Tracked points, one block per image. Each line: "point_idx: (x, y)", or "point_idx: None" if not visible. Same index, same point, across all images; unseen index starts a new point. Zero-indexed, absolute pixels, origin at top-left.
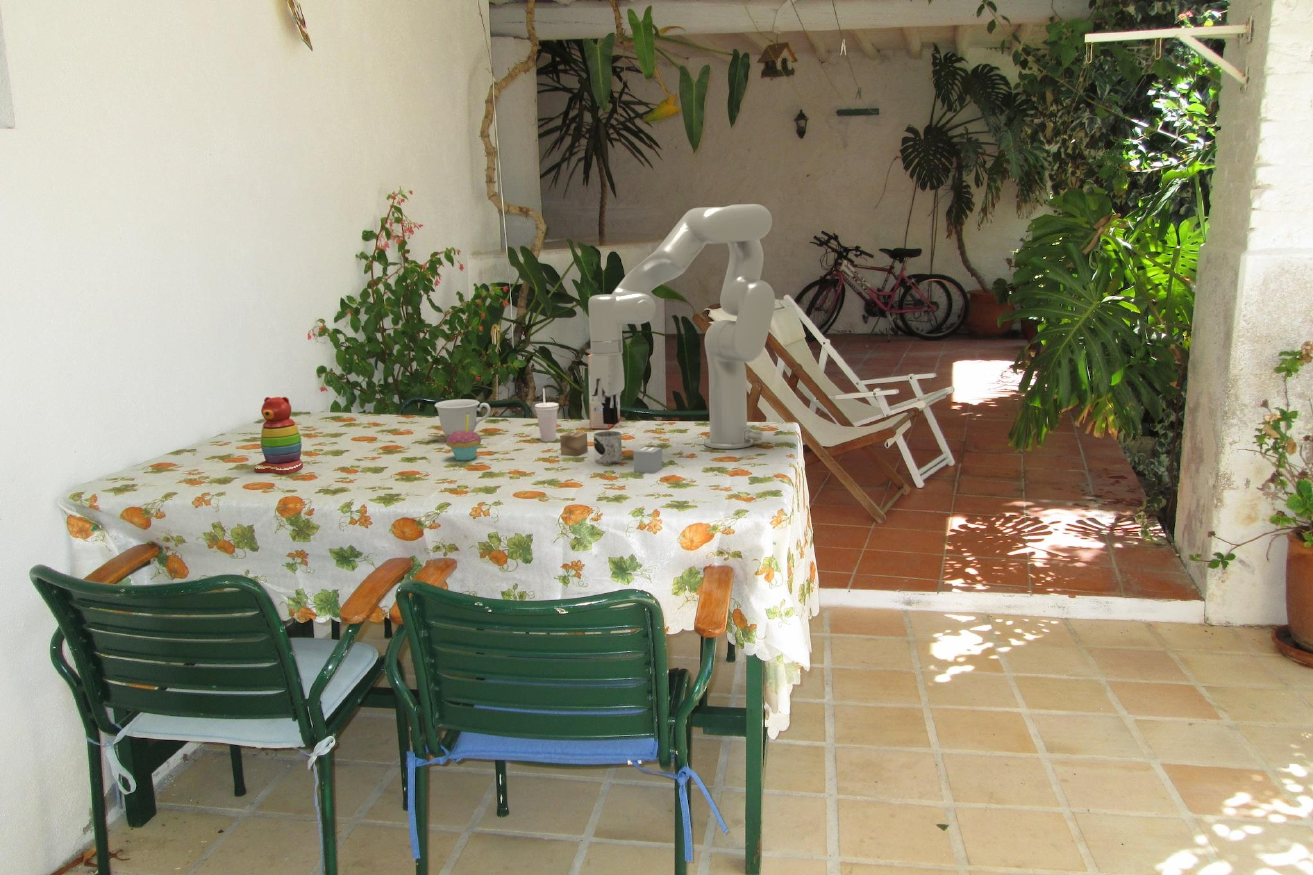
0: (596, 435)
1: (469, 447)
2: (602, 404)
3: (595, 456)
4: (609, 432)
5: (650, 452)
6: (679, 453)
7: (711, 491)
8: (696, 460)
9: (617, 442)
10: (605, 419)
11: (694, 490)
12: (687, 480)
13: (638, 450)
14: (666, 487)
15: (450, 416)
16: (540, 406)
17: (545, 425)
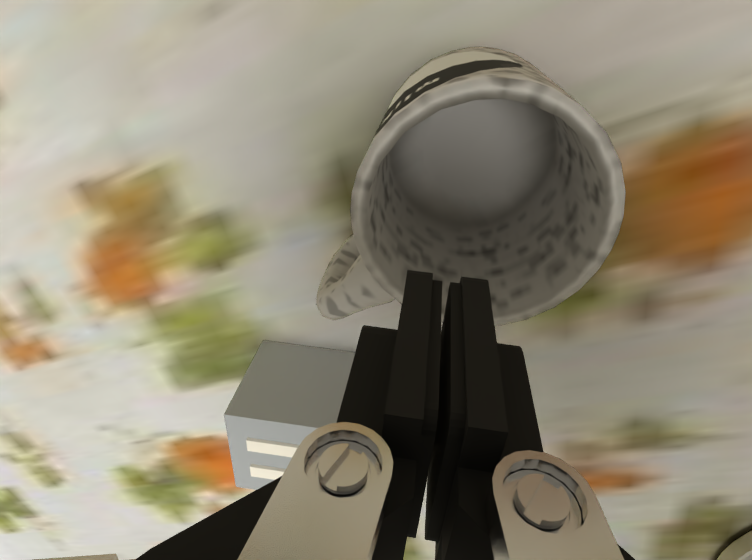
0: (397, 138)
1: None
2: (217, 518)
3: (407, 82)
4: (603, 199)
5: (234, 476)
6: (656, 438)
7: (146, 547)
8: None
9: (348, 314)
10: (360, 335)
11: (132, 520)
12: (222, 499)
13: (248, 431)
14: (118, 464)
15: None
16: None
17: None
